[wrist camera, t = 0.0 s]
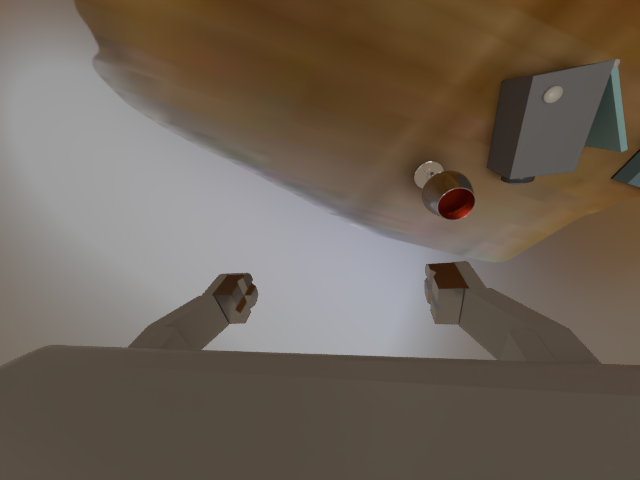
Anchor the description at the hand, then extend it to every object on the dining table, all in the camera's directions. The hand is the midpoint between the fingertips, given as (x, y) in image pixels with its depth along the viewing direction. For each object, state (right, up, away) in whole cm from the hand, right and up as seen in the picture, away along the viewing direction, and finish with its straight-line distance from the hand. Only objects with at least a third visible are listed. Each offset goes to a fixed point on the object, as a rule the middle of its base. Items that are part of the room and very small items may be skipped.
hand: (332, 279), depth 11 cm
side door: (+48, +27, +32) cm, 64 cm away
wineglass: (+25, +17, +42) cm, 52 cm away
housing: (+40, +24, +35) cm, 58 cm away
